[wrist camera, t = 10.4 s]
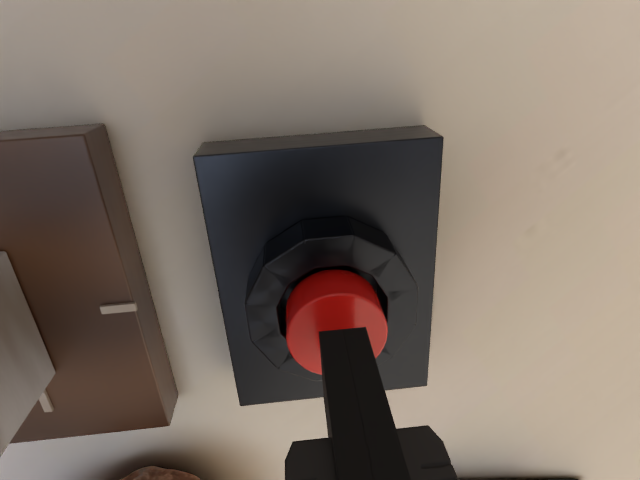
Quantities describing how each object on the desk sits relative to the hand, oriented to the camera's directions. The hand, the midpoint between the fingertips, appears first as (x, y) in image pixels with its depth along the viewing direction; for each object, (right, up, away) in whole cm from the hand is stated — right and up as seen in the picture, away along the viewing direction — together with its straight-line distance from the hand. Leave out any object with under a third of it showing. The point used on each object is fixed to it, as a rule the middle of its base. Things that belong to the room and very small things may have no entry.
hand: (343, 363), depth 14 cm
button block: (-1, +3, +6) cm, 7 cm away
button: (0, +1, +3) cm, 3 cm away
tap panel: (-14, +2, +5) cm, 15 cm away
